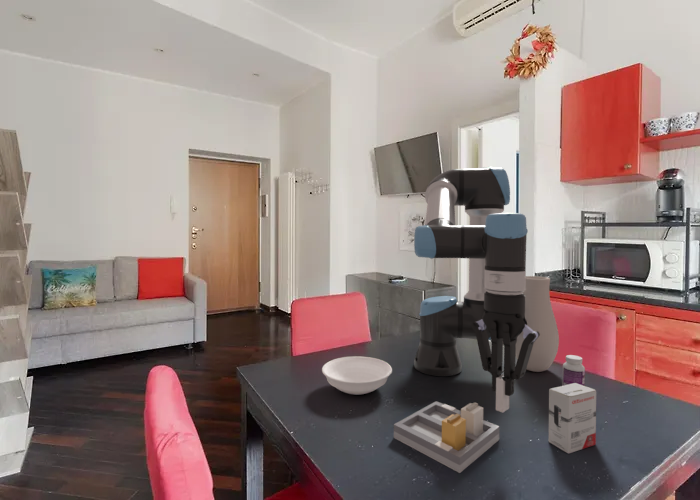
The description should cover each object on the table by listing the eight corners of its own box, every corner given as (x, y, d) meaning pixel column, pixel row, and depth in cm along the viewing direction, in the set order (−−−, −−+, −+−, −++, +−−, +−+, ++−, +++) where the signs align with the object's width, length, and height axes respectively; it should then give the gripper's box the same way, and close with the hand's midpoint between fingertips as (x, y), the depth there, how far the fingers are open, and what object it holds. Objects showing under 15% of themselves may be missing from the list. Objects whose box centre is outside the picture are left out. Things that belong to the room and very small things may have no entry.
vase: (548, 362, 125) (551, 275, 124) (565, 378, 112) (567, 280, 110) (506, 360, 128) (507, 274, 126) (517, 375, 114) (519, 279, 113)
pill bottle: (587, 395, 100) (588, 361, 100) (566, 394, 101) (567, 359, 101) (579, 387, 105) (580, 354, 105) (559, 386, 106) (560, 353, 106)
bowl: (406, 389, 105) (406, 367, 104) (360, 414, 90) (360, 389, 90) (354, 371, 118) (354, 351, 118) (307, 390, 104) (307, 368, 103)
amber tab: (441, 446, 74) (441, 417, 73) (452, 439, 76) (452, 411, 76) (454, 453, 72) (455, 423, 71) (465, 445, 74) (465, 416, 74)
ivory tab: (460, 433, 79) (460, 406, 78) (470, 426, 81) (470, 400, 81) (473, 439, 76) (473, 411, 76) (482, 432, 79) (483, 404, 79)
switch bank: (393, 437, 80) (393, 423, 80) (435, 413, 91) (436, 400, 91) (459, 473, 68) (459, 456, 68) (499, 439, 79) (499, 425, 79)
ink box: (574, 433, 82) (575, 381, 81) (596, 445, 77) (598, 389, 76) (546, 441, 78) (548, 387, 78) (568, 454, 74) (569, 397, 73)
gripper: (464, 290, 75) (463, 404, 76) (531, 297, 65) (528, 428, 66) (482, 286, 80) (481, 393, 81) (546, 293, 70) (544, 414, 71)
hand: (502, 409), depth 73 cm, fingers closed
